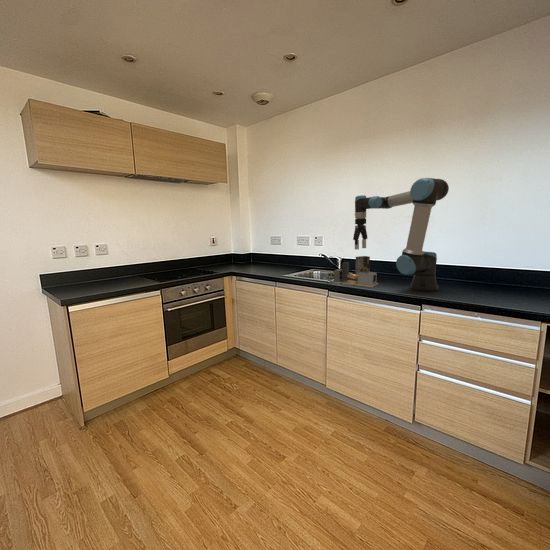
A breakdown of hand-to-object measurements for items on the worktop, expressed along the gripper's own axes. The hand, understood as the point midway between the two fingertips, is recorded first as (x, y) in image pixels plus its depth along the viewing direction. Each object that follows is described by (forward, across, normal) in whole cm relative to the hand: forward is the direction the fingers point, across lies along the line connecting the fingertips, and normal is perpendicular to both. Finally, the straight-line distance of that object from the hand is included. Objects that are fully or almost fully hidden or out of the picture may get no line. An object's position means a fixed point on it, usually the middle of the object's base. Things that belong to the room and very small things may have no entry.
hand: (360, 248), depth 203 cm
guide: (+24, +10, 0) cm, 26 cm away
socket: (+23, +9, -12) cm, 28 cm away
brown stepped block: (+22, +10, -3) cm, 24 cm away
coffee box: (+24, -18, -6) cm, 30 cm away
